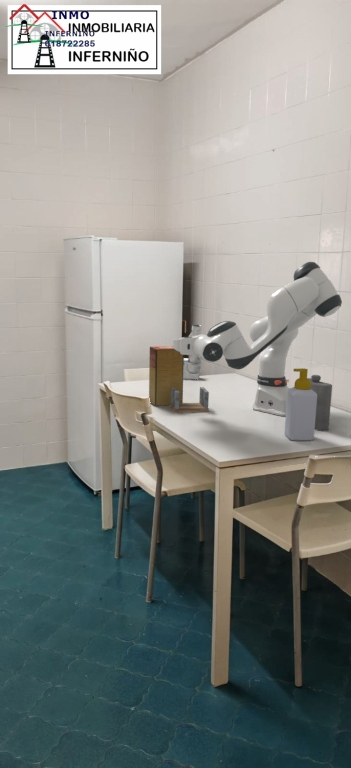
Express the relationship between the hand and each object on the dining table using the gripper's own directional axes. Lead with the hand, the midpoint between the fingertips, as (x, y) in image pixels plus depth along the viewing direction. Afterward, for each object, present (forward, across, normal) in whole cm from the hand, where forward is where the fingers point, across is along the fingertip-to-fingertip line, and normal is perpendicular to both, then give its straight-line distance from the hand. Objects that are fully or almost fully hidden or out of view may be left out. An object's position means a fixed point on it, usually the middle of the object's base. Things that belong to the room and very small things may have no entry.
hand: (195, 341), depth 230 cm
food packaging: (+19, +8, +30) cm, 36 cm away
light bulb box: (+75, -14, +30) cm, 82 cm away
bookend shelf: (+7, 0, +30) cm, 31 cm away
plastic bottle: (+2, 0, +13) cm, 13 cm away
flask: (-23, -43, +30) cm, 57 cm away
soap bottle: (-37, -31, +30) cm, 57 cm away
